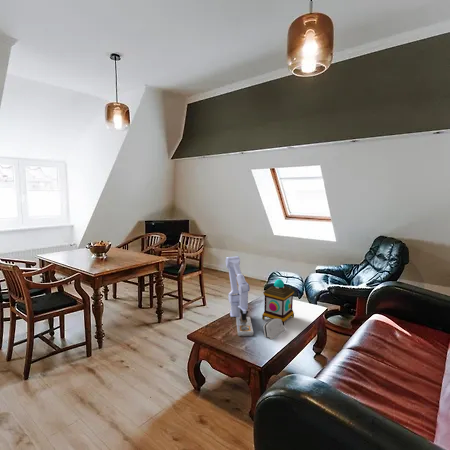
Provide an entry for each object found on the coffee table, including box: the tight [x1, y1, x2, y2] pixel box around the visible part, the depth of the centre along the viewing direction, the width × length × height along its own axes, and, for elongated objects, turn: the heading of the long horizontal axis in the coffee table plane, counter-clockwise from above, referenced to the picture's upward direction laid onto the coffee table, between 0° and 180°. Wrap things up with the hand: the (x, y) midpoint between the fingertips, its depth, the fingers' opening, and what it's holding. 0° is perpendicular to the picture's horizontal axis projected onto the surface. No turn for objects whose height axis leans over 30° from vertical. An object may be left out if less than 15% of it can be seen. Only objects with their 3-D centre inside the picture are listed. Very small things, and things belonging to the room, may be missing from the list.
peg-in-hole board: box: [235, 316, 254, 337], centre depth 205 cm, size 22×10×3 cm, turn 1°
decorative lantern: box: [261, 278, 295, 326], centre depth 216 cm, size 20×20×30 cm
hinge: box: [262, 319, 287, 340], centre depth 197 cm, size 17×5×10 cm, turn 132°
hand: (243, 318), depth 210 cm, fingers closed on walnut peg, 4 cm apart
